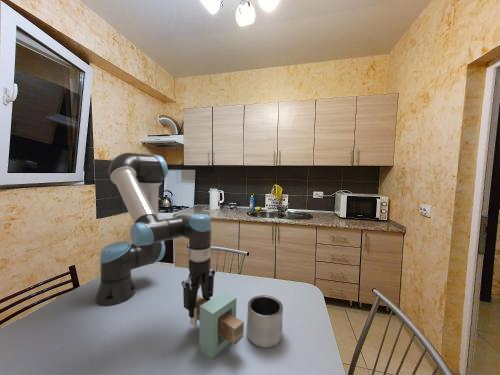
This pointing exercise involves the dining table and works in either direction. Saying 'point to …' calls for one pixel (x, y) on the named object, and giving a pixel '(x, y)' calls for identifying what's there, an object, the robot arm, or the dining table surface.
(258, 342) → the planter
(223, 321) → the brown wooden long bar
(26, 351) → the dining table surface
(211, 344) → the green rectangular frame
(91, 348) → the dining table surface
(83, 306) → the dining table surface
